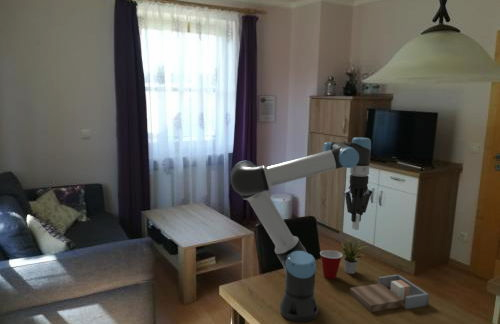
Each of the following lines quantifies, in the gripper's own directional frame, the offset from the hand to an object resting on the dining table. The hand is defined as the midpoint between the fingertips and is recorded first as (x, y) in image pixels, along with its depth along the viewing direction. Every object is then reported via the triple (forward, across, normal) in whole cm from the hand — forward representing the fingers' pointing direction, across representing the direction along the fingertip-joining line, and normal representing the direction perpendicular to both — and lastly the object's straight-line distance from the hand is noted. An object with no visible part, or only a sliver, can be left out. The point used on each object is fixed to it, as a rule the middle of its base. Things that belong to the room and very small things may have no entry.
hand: (355, 228), depth 164 cm
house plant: (+31, +14, +20) cm, 39 cm away
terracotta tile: (+28, +20, -7) cm, 35 cm away
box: (+30, +22, -7) cm, 38 cm away
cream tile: (+28, +18, -7) cm, 33 cm away
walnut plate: (+30, +8, -7) cm, 32 cm away
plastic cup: (+31, 0, +18) cm, 36 cm away
